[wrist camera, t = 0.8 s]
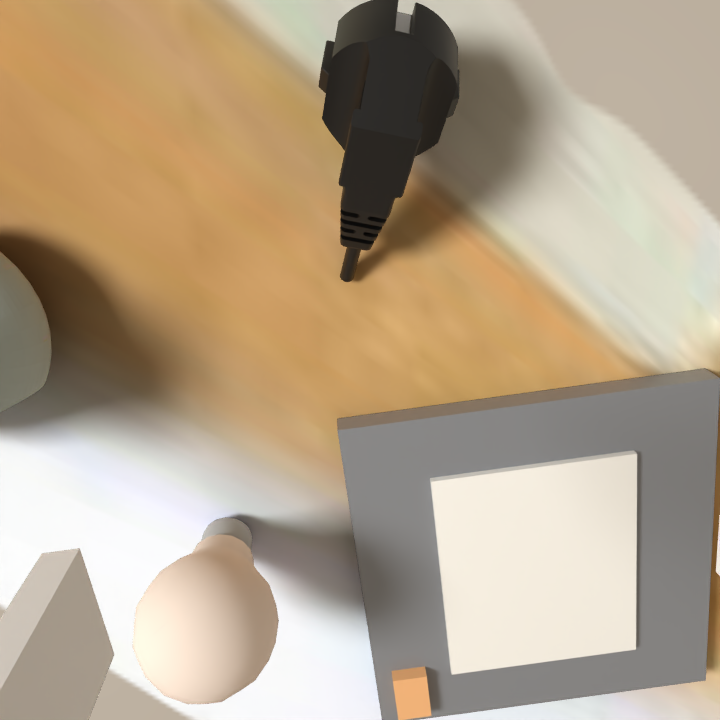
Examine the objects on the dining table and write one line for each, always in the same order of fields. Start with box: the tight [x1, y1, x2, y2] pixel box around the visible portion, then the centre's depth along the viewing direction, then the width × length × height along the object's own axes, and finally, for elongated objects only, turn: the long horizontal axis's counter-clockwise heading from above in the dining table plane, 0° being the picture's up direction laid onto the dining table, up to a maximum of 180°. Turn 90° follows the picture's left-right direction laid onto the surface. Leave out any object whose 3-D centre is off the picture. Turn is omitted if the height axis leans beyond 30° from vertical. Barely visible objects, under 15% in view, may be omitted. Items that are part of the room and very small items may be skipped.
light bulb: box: [133, 517, 279, 704], centre depth 33 cm, size 7×7×11 cm
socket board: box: [337, 369, 720, 720], centre depth 39 cm, size 20×20×2 cm
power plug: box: [319, 0, 459, 282], centre depth 31 cm, size 6×8×12 cm
